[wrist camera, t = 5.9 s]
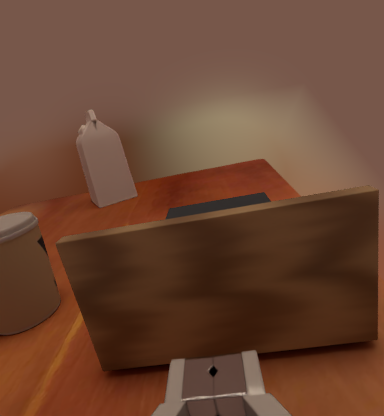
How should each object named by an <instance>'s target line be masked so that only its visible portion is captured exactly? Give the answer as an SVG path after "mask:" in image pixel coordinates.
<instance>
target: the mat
mask: <svg viewBox="0 0 384 416" xmlns="http://www.w3.org/2000/svg"><path fill="white" fill-rule="evenodd" d="M267 202H271V201H270V200H269V198H268V197H267V196H266V194H265V193H264V192H263V193H257V194H251V195H245V196H240V197H234V198H228V199H222V200H216V201H211V202H205V203H199V204H193V205H187V206H182V207H176V208H170V209H169V211H168V214H167V217H166V219H172V218H178V217H184V216H190V215H196V214H201V213H207V212H213V211H219V210H225V209H231V208H237V207H243V206H249V205H255V204H261V203H267ZM166 219H165V220H166Z"/></svg>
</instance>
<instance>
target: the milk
mask: <svg viewBox="0 0 384 416" xmlns="http://www.w3.org/2000/svg"><path fill="white" fill-rule="evenodd" d="M85 118H86V124H85V126H84V125H82V126H81V127H80V129H79V131H78V133H79V136H78V138H77V140H76V146H77V150H78V153H79V157H80V160H81V164H82V168H83V171H84V175H85V178H86V182H87V185H88V189H89V193H90V196H91V200H92V202H93V203H95V204H96V205H97V206H98V207H99V208H101V207H104V206H108V205H111V204H114V203H117V202H120V201H124V200H127V199H130V198H133V197H136V196H138V195H137V192H136V189H135V185H134V183H133V179H132V176H131V173H130V169H129V166H128V163H127V160H126V158H125V154H124V150H123V147H122V144H121V141H120V138H119V136H118V134H117V133H116V132H115V131H114V130H113V129H111V128H109V127H108V126H106V125H105V124H103V123H101V122H100V121H98V120H96V117H95V114H94V111H93V110H88V111H86V112H85Z"/></svg>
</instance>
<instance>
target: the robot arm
mask: <svg viewBox="0 0 384 416" xmlns="http://www.w3.org/2000/svg"><path fill="white" fill-rule="evenodd" d="M151 416H292V415H291V414H290V413H289V412H288V411H287V410H286V409H285V408H284V407H283V406H282V405H281V404H280V403H279V402H278V401H277V400H276V399H275V398H274V396H273V395H272V394H271V393H267V394H266V392H265V388H264V383H263V379H262V374H261V369H260V365H259V360H258V355H257V352H256V350H252V351H244V352H242V354H241V352H236V353H228V354H220V355H213V356H203V357H191V358H183V359H172V360H171V362H170V367H169V374H168V381H167V388H166V394H165V401H164V404H160V405H159V406H158V407H157V409H156V410H155V411H154V412H153V414H152V415H151Z"/></svg>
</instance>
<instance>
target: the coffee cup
mask: <svg viewBox="0 0 384 416" xmlns="http://www.w3.org/2000/svg"><path fill="white" fill-rule="evenodd" d="M60 301H61V300H60V295H59V291H58V287H57V284H56V281H55V277H54V274H53V271H52V267H51V264H50V261H49V257H48V254H47V251H46V248H45V244H44V241H43V238H42V235H41V232H40V229H39V226H38V219H37V217H35V216H34V215H33V214H32V213H31V212H19V213H13V214H8V215H4V216H0V335H12V334H16V333H20V332H23V331H25V330H28V329H30V328H32V327H34V326H36V325H38V324H39V323H41V322H43V321H44V320H45V319H47V318H48V317H49V316H50V315H52V314H53V313H54V312H55V310H56V309H57V308H58V306H59V305H60Z"/></svg>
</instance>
